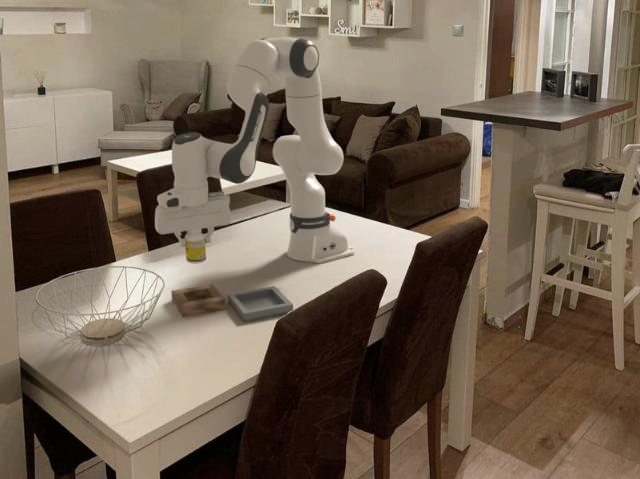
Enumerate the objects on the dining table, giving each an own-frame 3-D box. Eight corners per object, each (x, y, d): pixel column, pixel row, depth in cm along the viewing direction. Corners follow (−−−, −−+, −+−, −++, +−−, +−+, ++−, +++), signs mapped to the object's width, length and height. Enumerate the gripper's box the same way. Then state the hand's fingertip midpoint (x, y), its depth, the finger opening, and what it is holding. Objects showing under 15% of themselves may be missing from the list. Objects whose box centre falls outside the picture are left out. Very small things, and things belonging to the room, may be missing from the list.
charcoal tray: (274, 294, 211) (274, 286, 210) (293, 312, 199) (293, 304, 198) (228, 302, 205) (227, 294, 204) (244, 322, 193) (244, 313, 192)
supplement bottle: (187, 257, 202) (184, 223, 199) (206, 256, 202) (204, 223, 199) (185, 264, 197) (182, 230, 194) (205, 263, 197) (203, 229, 194)
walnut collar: (213, 293, 211) (212, 283, 210) (225, 309, 201) (225, 299, 200) (172, 300, 207) (171, 290, 206) (182, 317, 196) (182, 306, 195)
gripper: (225, 187, 200) (228, 235, 205) (151, 196, 192) (155, 246, 197) (232, 193, 195) (235, 242, 199) (156, 203, 187) (160, 253, 191)
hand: (195, 244), depth 198 cm, fingers closed on supplement bottle, 5 cm apart
